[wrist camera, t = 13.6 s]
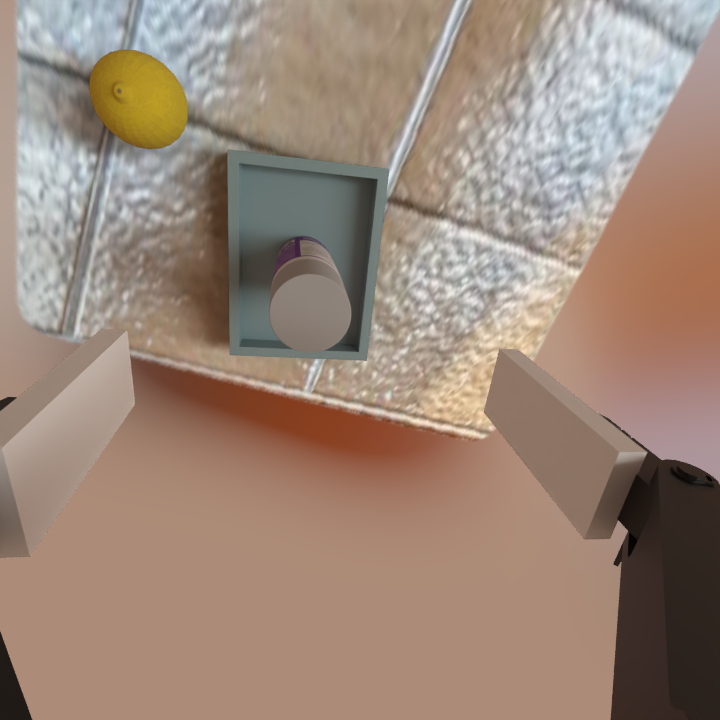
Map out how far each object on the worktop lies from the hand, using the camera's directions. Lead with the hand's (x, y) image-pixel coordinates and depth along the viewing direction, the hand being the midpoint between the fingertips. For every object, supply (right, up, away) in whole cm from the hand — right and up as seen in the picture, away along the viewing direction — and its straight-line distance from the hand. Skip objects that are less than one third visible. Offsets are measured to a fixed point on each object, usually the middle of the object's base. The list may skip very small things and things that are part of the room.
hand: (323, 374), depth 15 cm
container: (-4, +9, +22) cm, 24 cm away
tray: (-4, +9, +22) cm, 24 cm away
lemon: (-14, +19, +17) cm, 29 cm away
